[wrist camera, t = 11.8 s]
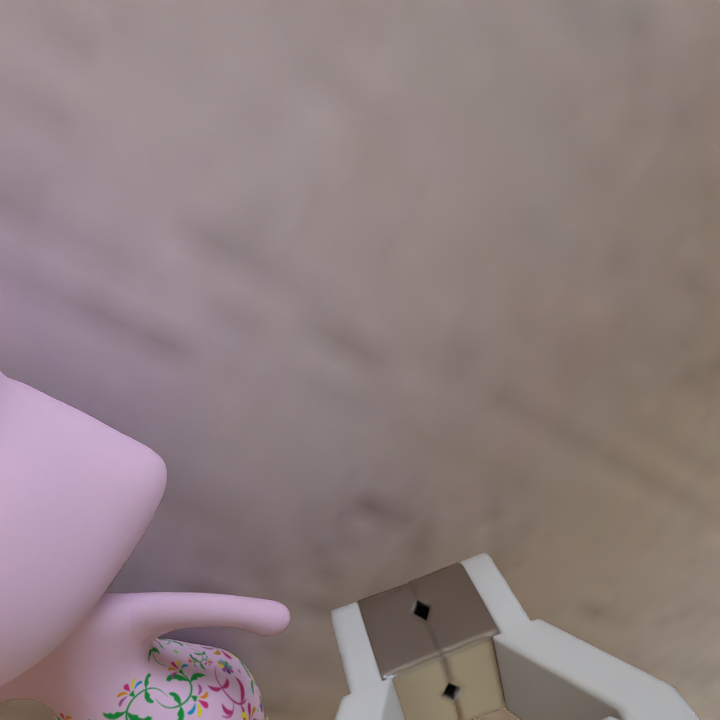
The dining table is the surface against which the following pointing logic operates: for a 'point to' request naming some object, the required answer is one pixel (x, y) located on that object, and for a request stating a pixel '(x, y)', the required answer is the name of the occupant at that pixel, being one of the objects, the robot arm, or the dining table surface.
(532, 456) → the dining table surface
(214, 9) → the dining table surface
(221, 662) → the rabbit figure
